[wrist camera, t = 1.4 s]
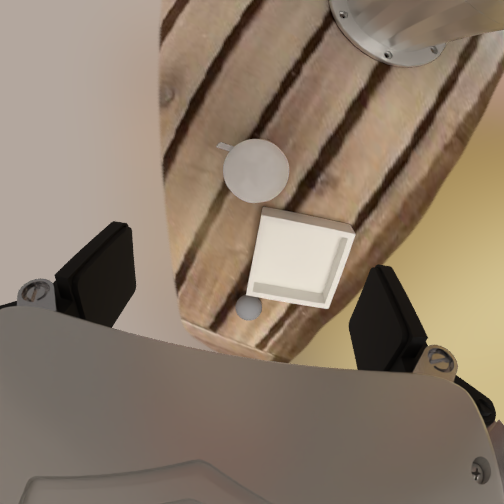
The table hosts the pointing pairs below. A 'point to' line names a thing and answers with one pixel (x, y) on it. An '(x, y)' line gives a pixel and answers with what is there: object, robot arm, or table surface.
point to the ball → (248, 307)
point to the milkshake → (255, 169)
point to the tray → (298, 258)
